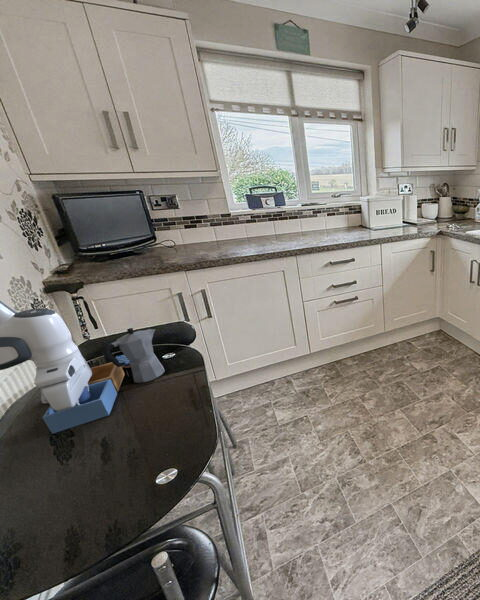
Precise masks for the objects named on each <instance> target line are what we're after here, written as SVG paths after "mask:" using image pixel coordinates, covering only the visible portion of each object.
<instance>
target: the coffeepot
mask: <svg viewBox="0 0 480 600" xmlns="http://www.w3.org/2000/svg"><path fill="white" fill-rule="evenodd" d="M155 331H156V329H155V328H149V329H145V330H137V331H134V328H133V327H130V328H127V329H126V332H128V333H127V334H124V335H122V336H121V337H119V338H117V339H116V340H115V341H113V342H111V343H108V344H106V345H105V346H104V348H103V350H102V355H103V356H104V357H105V358H106V359H107V360H109V361H110V363H111V362H112V363H113V364H115V365H116V366H117V367H121V366H123V365H125V362H123V363H119V361H118V359H116V358H115V357H116V356H114V354H113V353H111V350H116V349H119V350H121V352H122V354H123V355H125V356H126V358H127V359H129V360H130V364H131V367H130V369H131V372H132V378H133V382H134V383H136V384H141V383H147V382H151V381H154V380H155V379H157V378H159V377H161V376H162V375H163V374H164V373H165V371H166V370H165V368H164V366H163V364H162V363H161V362H160V359H158V357H157V355H156V354H155V353H154V347H153V343H152V341H153V336H154V334H155Z"/></svg>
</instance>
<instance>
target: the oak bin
mask: <svg viewBox="0 0 480 600" xmlns="http://www.w3.org/2000/svg"><path fill="white" fill-rule="evenodd" d="M90 369H91V371H92V376H91V377H90V379H89V381H88V385H91V384H95V383H98V382H102V381H105V380H108V379H110V380H111V382H112V384H113V386H114V388H115V390H116V392H117V393H118V392H119V391H120V388H121V386H122V383H123V380H124V377H125V375H126V374H125V371H124V368H122V367H117V366H116V365H115V364H113V363H112V362H111V361H110V362H108V363H104V364H101V365H97V366H94V367H93V366H92V367H90Z"/></svg>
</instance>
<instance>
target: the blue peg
mask: <svg viewBox="0 0 480 600" xmlns="http://www.w3.org/2000/svg"><path fill="white" fill-rule="evenodd" d="M78 400H79V402H78V403H79V404H80V405H81V404H85V403H88V402H91V401H93V400H92V398H91V396H90V394H89V392H88V390H87V388H86V387H85V388H84V389H83V392H82V394H81V395H80V397H79V399H78Z"/></svg>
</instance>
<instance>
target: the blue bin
mask: <svg viewBox="0 0 480 600" xmlns="http://www.w3.org/2000/svg"><path fill="white" fill-rule="evenodd" d="M88 386H89V392H90V394H91V398H92V400H93V401H91V402H88V403H85V404H81V405H78V406H75V407H73V408H70V409H67V410H63V411H60V412H58V411H55V410H54V409H53V408H52V407H51V405H49V407H48V408H47V410H46V411H45V413H44V414H43V415H42V419H43V421H44V423H45V424H46V426H47V428H48V429H49V431H50V432H51V434H52V435H53V434H57V433H59V432H62V431H65V430H68V429H71V428H75V427H78V426H81V425H84V424H87V423H89V422H93V421H96V420H98V419H102V418H105V417H108V416H110V414H111V411H112V409H113V407H114V404H115V401H116V398H117V396H118V392H116V390H115V388H114V386H113V384H112V382H111V380H110V379H108V380H105V381H102V382H98V383H95V384H91V385H88Z"/></svg>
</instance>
